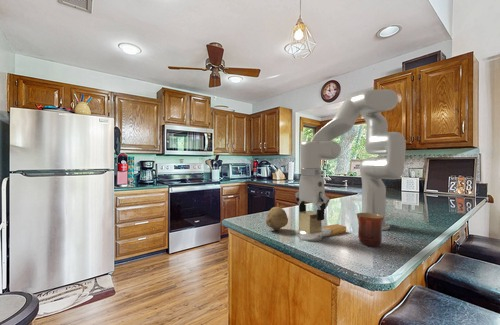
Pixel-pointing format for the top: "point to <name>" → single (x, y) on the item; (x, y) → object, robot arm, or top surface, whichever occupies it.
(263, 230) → the top surface
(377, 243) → the mug
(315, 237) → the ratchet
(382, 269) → the top surface
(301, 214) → the beige wooden block
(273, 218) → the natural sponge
